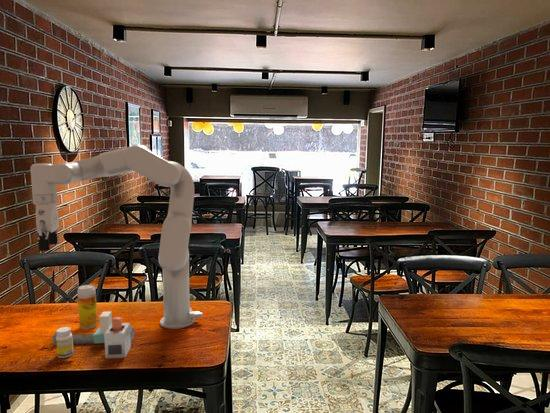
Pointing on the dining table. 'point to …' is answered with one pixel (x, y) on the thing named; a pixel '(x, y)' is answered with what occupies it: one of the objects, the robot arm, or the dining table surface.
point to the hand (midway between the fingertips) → (48, 247)
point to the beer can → (87, 306)
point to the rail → (87, 337)
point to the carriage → (103, 326)
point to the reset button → (117, 324)
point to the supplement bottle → (64, 342)
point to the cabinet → (117, 342)
